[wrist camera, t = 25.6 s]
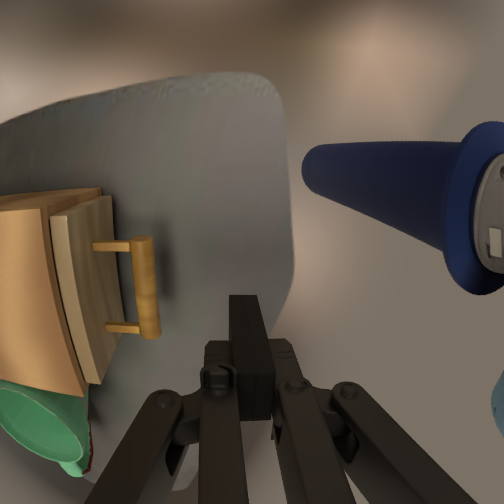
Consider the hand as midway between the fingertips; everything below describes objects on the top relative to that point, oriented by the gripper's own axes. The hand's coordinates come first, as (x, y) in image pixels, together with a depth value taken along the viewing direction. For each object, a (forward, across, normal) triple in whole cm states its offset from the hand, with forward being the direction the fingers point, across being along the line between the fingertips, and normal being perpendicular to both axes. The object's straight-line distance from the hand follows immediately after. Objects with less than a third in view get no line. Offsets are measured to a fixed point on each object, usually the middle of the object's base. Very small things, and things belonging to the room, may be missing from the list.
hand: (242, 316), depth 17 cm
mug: (+9, -18, -14) cm, 24 cm away
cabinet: (+8, -18, 0) cm, 20 cm away
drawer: (+7, -14, 0) cm, 16 cm away
